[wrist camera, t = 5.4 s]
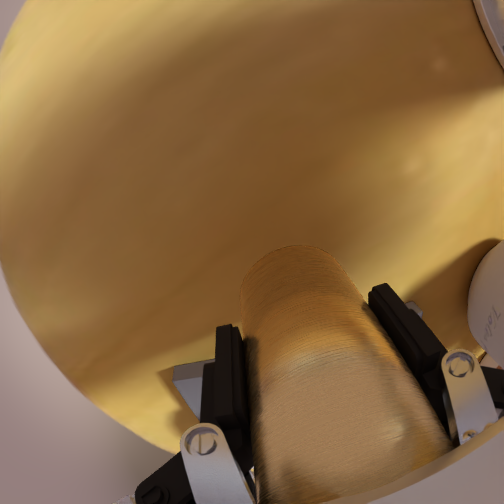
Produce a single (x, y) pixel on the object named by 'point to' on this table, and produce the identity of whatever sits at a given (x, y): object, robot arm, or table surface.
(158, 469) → the robot arm
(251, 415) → the gold cylindrical peg
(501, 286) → the teacup
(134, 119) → the table surface
